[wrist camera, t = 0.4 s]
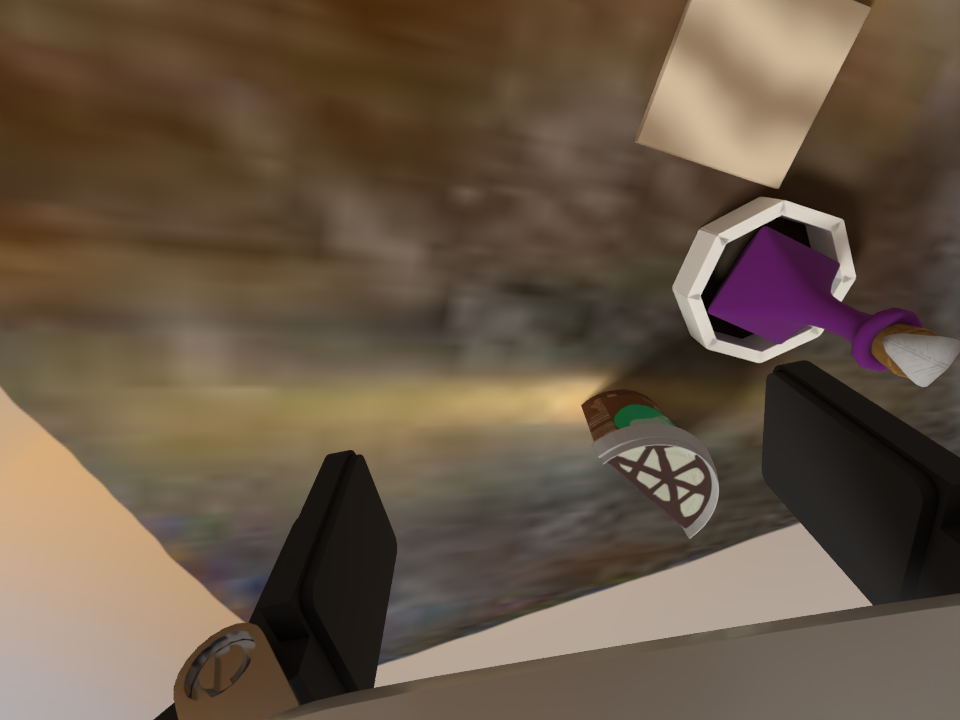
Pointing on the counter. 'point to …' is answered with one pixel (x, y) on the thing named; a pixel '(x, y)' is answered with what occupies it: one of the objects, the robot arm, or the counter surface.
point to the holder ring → (713, 237)
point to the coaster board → (748, 82)
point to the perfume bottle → (823, 309)
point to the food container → (654, 456)
